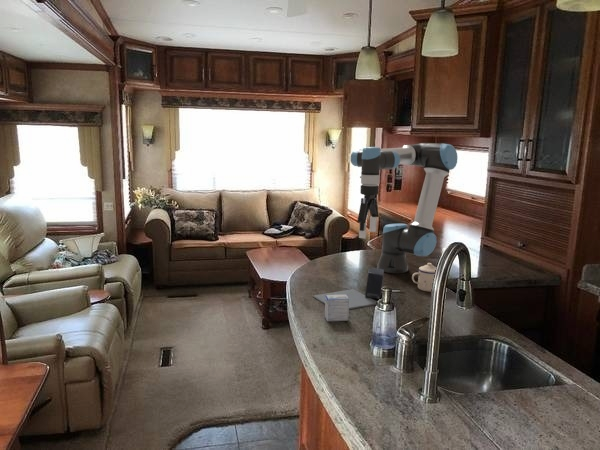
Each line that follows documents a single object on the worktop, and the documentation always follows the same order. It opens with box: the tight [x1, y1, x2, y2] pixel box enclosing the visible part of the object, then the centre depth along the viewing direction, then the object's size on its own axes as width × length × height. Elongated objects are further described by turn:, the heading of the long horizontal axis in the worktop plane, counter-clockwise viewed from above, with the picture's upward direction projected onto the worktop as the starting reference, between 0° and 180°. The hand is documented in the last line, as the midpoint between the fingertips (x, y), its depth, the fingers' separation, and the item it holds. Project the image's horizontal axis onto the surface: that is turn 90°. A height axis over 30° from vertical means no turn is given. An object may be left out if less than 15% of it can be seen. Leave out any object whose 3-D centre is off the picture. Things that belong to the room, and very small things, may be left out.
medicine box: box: [324, 295, 350, 322], centre depth 172 cm, size 8×4×9 cm, turn 100°
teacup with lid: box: [411, 262, 437, 292], centre depth 209 cm, size 12×9×12 cm
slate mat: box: [312, 288, 378, 310], centre depth 193 cm, size 20×18×1 cm
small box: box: [364, 266, 385, 300], centre depth 198 cm, size 11×6×10 cm, turn 169°
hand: (367, 234), depth 201 cm, fingers open, 13 cm apart
